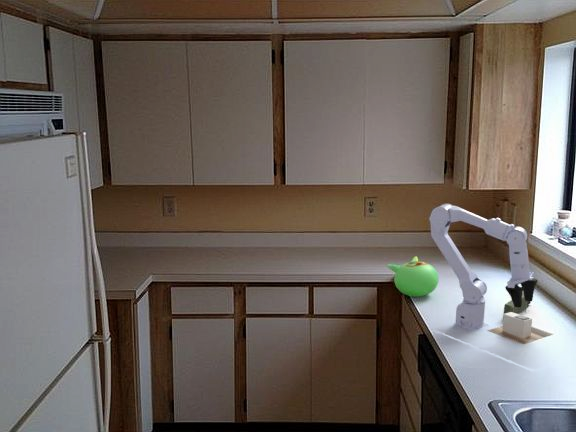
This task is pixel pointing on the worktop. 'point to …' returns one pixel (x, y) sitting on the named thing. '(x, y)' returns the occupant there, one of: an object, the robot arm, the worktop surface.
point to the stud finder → (517, 325)
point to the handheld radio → (510, 307)
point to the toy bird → (415, 278)
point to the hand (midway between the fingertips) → (523, 303)
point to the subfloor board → (534, 336)
